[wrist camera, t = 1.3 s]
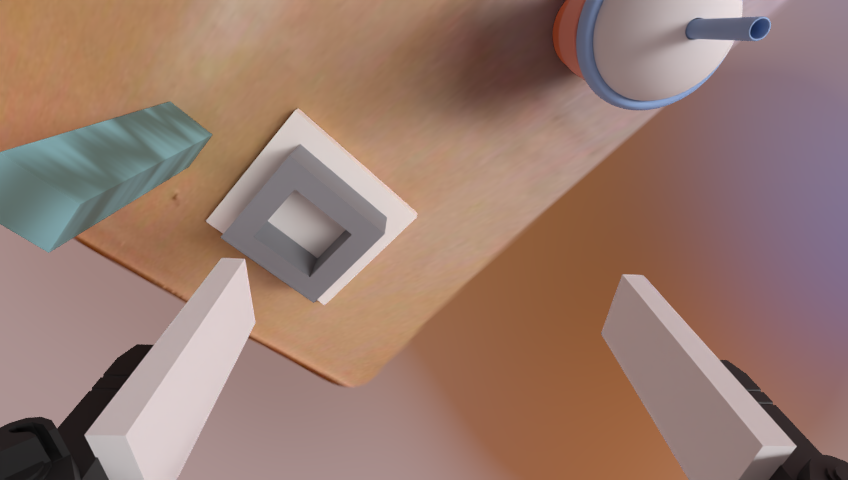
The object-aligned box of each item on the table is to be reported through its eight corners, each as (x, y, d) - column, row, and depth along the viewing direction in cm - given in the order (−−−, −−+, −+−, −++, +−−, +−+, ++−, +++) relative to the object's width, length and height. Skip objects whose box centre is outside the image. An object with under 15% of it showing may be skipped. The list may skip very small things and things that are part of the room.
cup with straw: (578, 112, 36) (713, 180, 20) (509, 31, 33) (602, 34, 17) (670, 26, 33) (916, 23, 17) (604, -71, 30) (825, -187, 14)
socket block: (210, 217, 39) (187, 238, 35) (298, 108, 35) (283, 118, 31) (326, 299, 44) (317, 326, 40) (417, 212, 40) (417, 233, 36)
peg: (146, 136, 36) (-29, 206, 22) (170, 101, 34) (-1, 152, 20) (188, 166, 37) (49, 252, 23) (212, 134, 36) (80, 204, 22)
